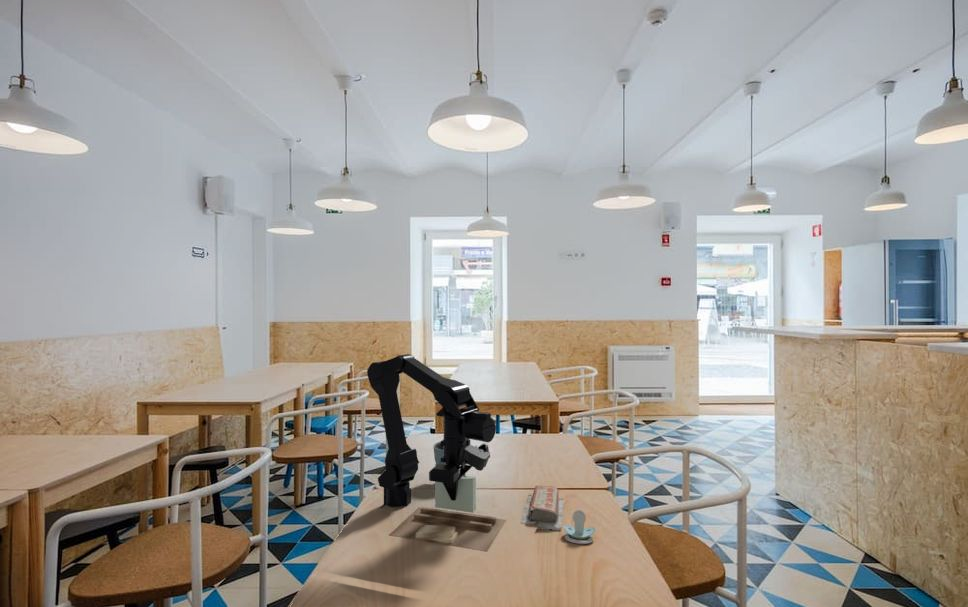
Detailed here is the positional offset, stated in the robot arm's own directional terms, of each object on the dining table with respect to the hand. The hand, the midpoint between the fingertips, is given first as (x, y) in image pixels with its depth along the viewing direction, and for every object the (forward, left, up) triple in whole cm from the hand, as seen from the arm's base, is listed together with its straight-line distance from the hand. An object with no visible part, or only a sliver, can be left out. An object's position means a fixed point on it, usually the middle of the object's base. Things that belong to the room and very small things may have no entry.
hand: (455, 498), depth 121 cm
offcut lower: (-1, -9, -6) cm, 11 cm away
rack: (0, -3, -7) cm, 7 cm away
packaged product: (+20, +13, -7) cm, 25 cm away
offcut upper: (-1, -9, -5) cm, 10 cm away
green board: (0, 0, -2) cm, 3 cm away
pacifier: (+30, +3, -7) cm, 31 cm away
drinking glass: (-11, +25, -7) cm, 28 cm away
